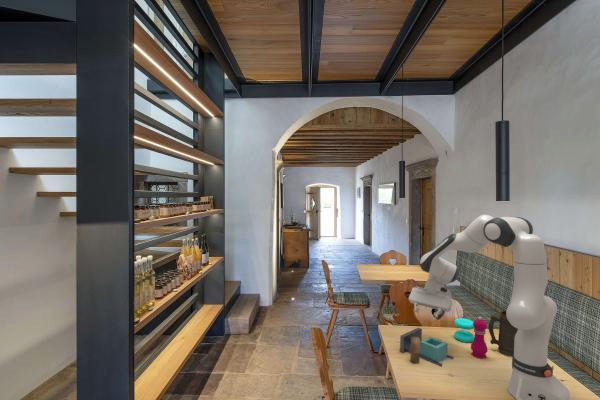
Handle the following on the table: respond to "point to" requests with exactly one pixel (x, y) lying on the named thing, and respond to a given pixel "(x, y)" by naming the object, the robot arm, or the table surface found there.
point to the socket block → (433, 349)
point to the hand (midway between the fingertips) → (425, 314)
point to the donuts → (464, 335)
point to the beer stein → (503, 334)
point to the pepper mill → (479, 339)
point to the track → (406, 344)
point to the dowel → (415, 350)
